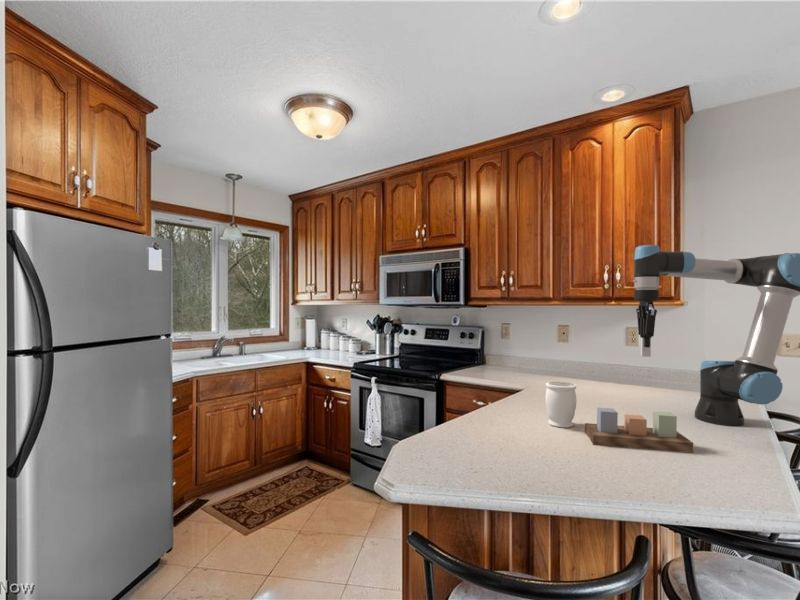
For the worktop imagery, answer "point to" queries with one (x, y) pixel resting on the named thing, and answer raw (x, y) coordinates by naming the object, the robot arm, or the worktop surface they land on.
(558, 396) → the jar
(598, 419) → the blue-gray block
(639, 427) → the terracotta toy cube
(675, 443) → the brown board
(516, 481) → the worktop surface
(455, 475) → the worktop surface
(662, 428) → the sage green block
